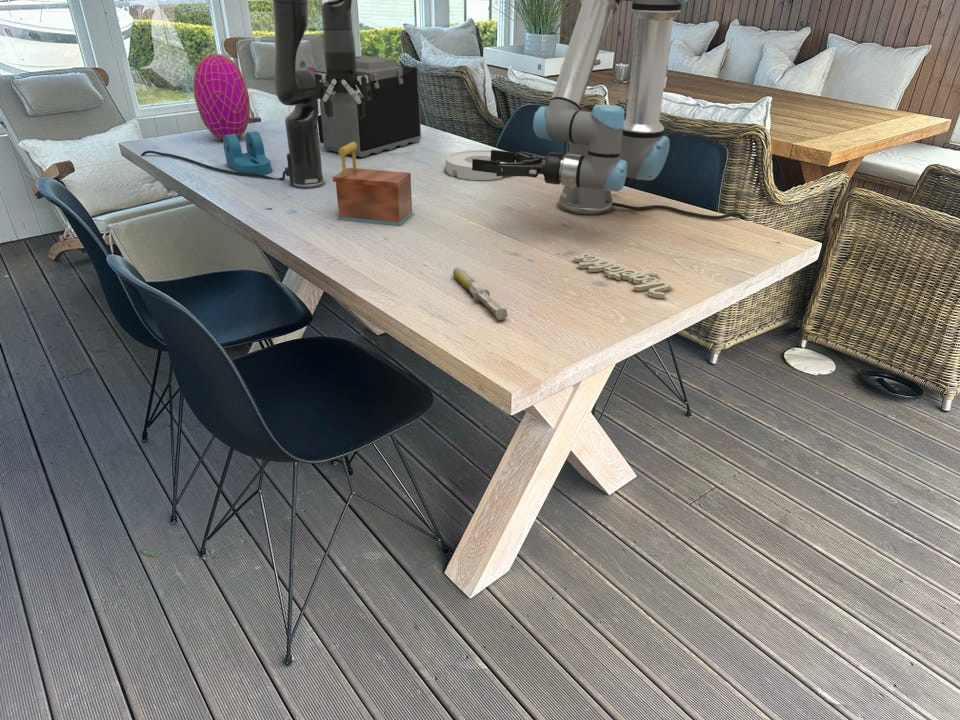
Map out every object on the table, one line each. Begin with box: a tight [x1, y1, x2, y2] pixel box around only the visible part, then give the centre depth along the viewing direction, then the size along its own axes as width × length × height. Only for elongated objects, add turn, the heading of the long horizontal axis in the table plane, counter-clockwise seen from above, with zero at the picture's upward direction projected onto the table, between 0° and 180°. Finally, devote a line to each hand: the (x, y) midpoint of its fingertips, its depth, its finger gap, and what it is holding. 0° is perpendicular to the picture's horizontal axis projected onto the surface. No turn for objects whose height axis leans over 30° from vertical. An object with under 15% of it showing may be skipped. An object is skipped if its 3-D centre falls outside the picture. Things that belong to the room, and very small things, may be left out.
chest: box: [335, 178, 413, 226], centre depth 186 cm, size 18×10×10 cm, turn 75°
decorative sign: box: [574, 252, 671, 299], centre depth 155 cm, size 26×1×10 cm
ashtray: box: [445, 149, 509, 181], centre depth 229 cm, size 23×23×4 cm
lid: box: [332, 142, 412, 188], centre depth 182 cm, size 18×10×9 cm, turn 75°
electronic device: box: [311, 55, 422, 159], centre depth 250 cm, size 37×22×30 cm, turn 144°
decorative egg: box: [193, 53, 251, 140], centre depth 257 cm, size 19×19×30 cm
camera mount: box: [222, 131, 272, 175], centre depth 226 cm, size 18×10×10 cm, turn 35°
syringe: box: [452, 266, 509, 321], centre depth 145 cm, size 25×4×3 cm, turn 21°
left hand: (345, 117), depth 177 cm, fingers open, 8 cm apart
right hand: (482, 159), depth 176 cm, fingers open, 13 cm apart
